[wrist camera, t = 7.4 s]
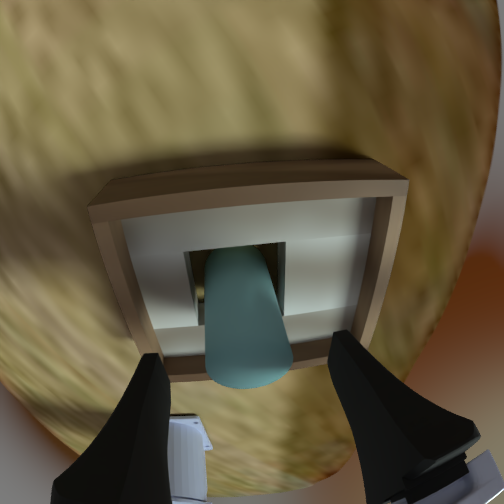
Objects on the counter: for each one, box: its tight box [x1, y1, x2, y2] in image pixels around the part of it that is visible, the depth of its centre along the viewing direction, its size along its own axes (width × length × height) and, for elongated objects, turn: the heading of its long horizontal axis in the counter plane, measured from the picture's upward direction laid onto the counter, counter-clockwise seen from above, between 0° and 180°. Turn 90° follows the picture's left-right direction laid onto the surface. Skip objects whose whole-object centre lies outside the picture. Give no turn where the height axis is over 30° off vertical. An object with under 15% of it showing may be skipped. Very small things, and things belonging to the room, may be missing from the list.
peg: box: [204, 245, 293, 389], centre depth 15 cm, size 4×4×7 cm
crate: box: [87, 159, 409, 382], centre depth 16 cm, size 12×14×4 cm
